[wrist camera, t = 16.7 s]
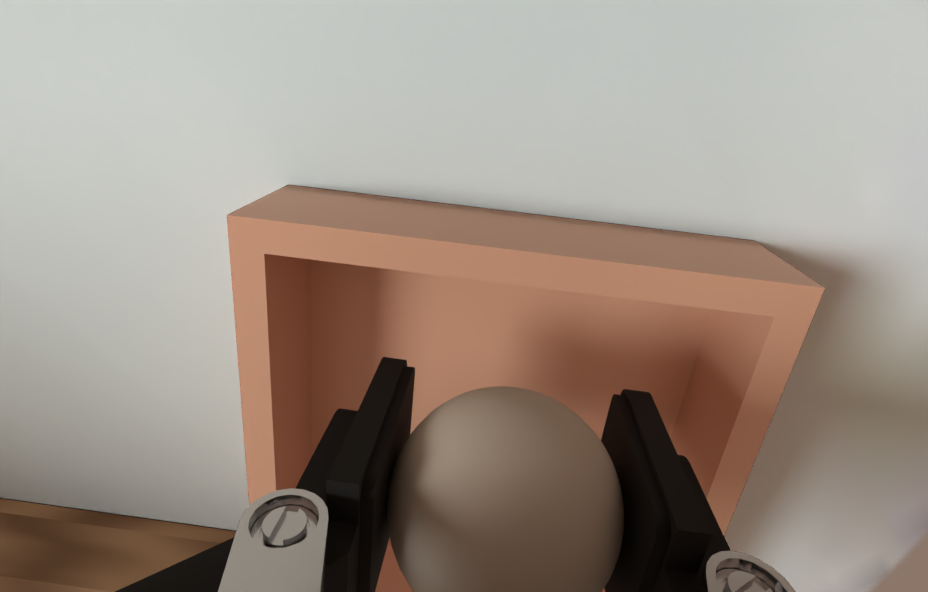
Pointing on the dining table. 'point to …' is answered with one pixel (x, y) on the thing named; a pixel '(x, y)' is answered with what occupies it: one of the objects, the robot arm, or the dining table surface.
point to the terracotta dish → (505, 324)
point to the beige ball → (505, 498)
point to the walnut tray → (89, 548)
